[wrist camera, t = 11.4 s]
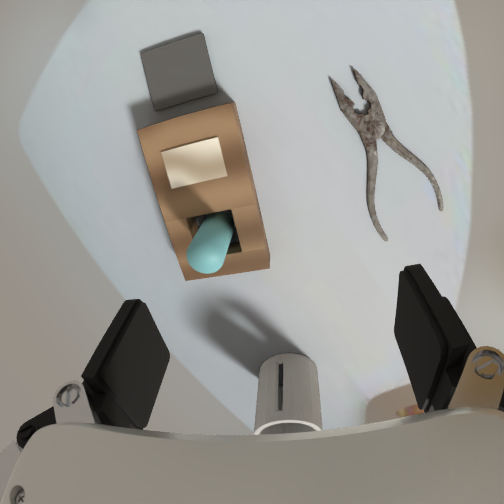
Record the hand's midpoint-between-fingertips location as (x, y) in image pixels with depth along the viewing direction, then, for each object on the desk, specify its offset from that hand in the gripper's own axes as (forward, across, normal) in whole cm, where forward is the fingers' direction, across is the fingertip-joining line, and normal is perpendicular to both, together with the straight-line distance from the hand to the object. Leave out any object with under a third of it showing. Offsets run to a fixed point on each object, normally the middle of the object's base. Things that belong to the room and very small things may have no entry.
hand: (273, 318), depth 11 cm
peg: (+24, +8, +6) cm, 26 cm away
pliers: (+25, -11, +2) cm, 28 cm away
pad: (+25, +8, -12) cm, 29 cm away
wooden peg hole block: (+24, +8, +2) cm, 26 cm away
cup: (+24, +3, +32) cm, 40 cm away
